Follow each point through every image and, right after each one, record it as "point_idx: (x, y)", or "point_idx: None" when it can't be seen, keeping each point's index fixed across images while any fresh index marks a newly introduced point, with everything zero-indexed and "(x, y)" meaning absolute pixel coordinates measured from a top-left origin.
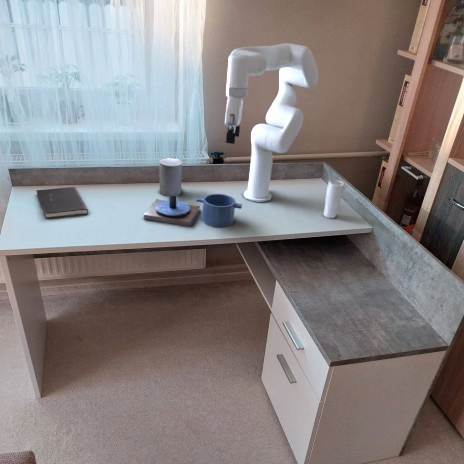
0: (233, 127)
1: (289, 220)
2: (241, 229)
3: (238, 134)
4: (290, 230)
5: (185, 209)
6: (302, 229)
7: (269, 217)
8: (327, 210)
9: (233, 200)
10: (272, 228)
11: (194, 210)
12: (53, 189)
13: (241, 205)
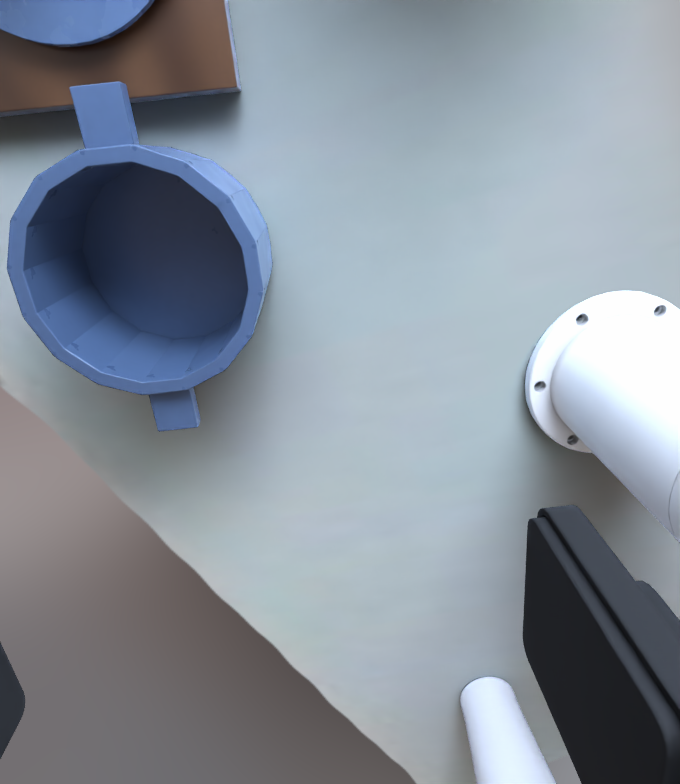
0: (628, 736)
1: (362, 573)
2: (135, 408)
3: (540, 685)
4: (258, 597)
5: (63, 9)
6: (295, 633)
7: (351, 492)
8: (470, 716)
9: (192, 373)
10: (234, 530)
11: (142, 73)
12: None
13: (175, 429)
